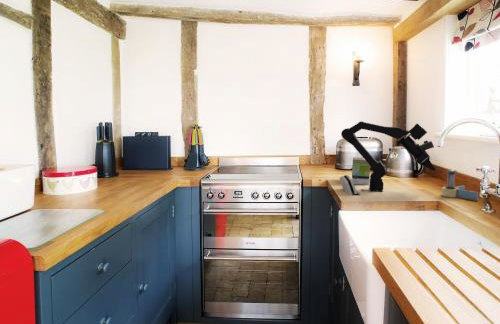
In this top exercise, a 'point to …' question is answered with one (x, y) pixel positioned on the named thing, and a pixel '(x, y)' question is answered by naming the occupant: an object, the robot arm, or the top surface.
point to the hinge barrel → (460, 193)
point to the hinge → (348, 185)
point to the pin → (451, 179)
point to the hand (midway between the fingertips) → (433, 168)
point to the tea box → (360, 171)
